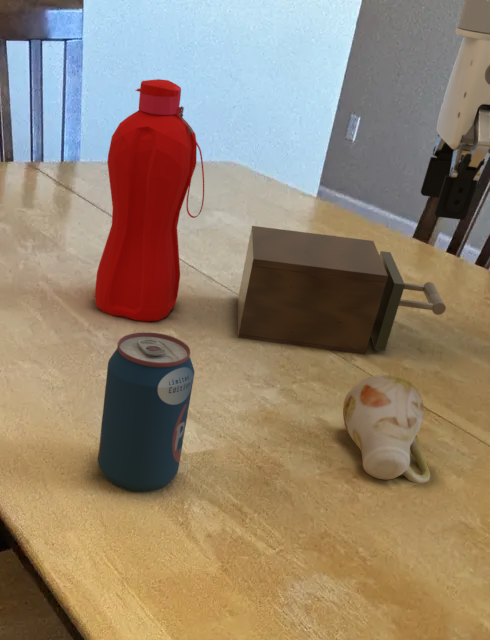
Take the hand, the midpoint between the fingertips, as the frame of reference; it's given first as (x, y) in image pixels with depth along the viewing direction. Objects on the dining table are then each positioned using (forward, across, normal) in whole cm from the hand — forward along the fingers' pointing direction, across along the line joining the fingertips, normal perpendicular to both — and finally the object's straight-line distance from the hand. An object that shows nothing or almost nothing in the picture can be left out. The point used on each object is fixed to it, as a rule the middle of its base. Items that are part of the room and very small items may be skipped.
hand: (441, 205), depth 95 cm
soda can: (+16, -39, +28) cm, 51 cm away
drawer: (+15, 0, +7) cm, 16 cm away
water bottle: (+16, -1, +31) cm, 35 cm away
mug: (+16, -30, +6) cm, 35 cm away
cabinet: (+16, 0, +12) cm, 20 cm away
